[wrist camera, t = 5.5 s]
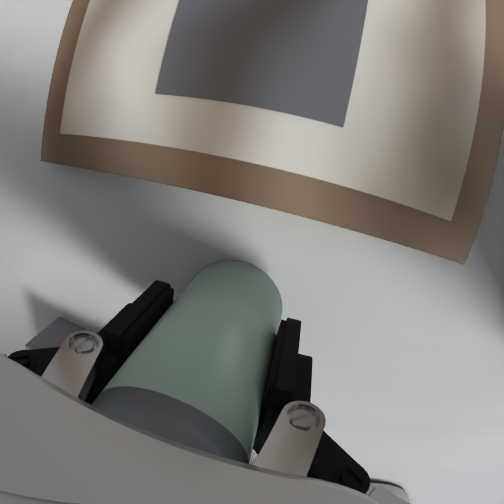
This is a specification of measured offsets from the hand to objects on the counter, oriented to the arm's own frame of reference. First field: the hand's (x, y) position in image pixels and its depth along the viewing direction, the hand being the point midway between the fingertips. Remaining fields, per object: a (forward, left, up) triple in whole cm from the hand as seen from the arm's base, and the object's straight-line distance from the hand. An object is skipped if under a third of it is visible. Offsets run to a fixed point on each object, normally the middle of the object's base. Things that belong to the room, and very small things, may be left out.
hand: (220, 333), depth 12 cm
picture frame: (+1, -12, -2) cm, 12 cm away
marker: (0, 0, -2) cm, 2 cm away
